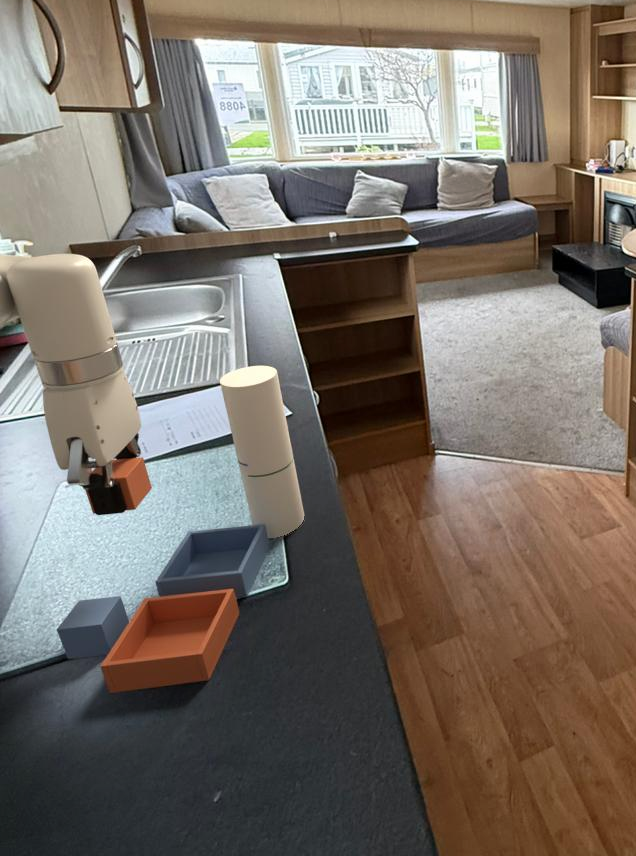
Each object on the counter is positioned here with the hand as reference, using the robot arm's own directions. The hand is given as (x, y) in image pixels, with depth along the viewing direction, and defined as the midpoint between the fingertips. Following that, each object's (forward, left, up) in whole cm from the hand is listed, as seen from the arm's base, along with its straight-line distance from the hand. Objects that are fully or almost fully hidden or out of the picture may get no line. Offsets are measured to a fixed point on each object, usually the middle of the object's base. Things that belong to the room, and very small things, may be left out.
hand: (122, 498), depth 80 cm
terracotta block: (0, 0, 0) cm, 0 cm away
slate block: (-3, -7, -15) cm, 17 cm away
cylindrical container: (+12, +13, -16) cm, 24 cm away
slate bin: (+7, +3, -15) cm, 17 cm away
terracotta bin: (+7, -10, -15) cm, 20 cm away
